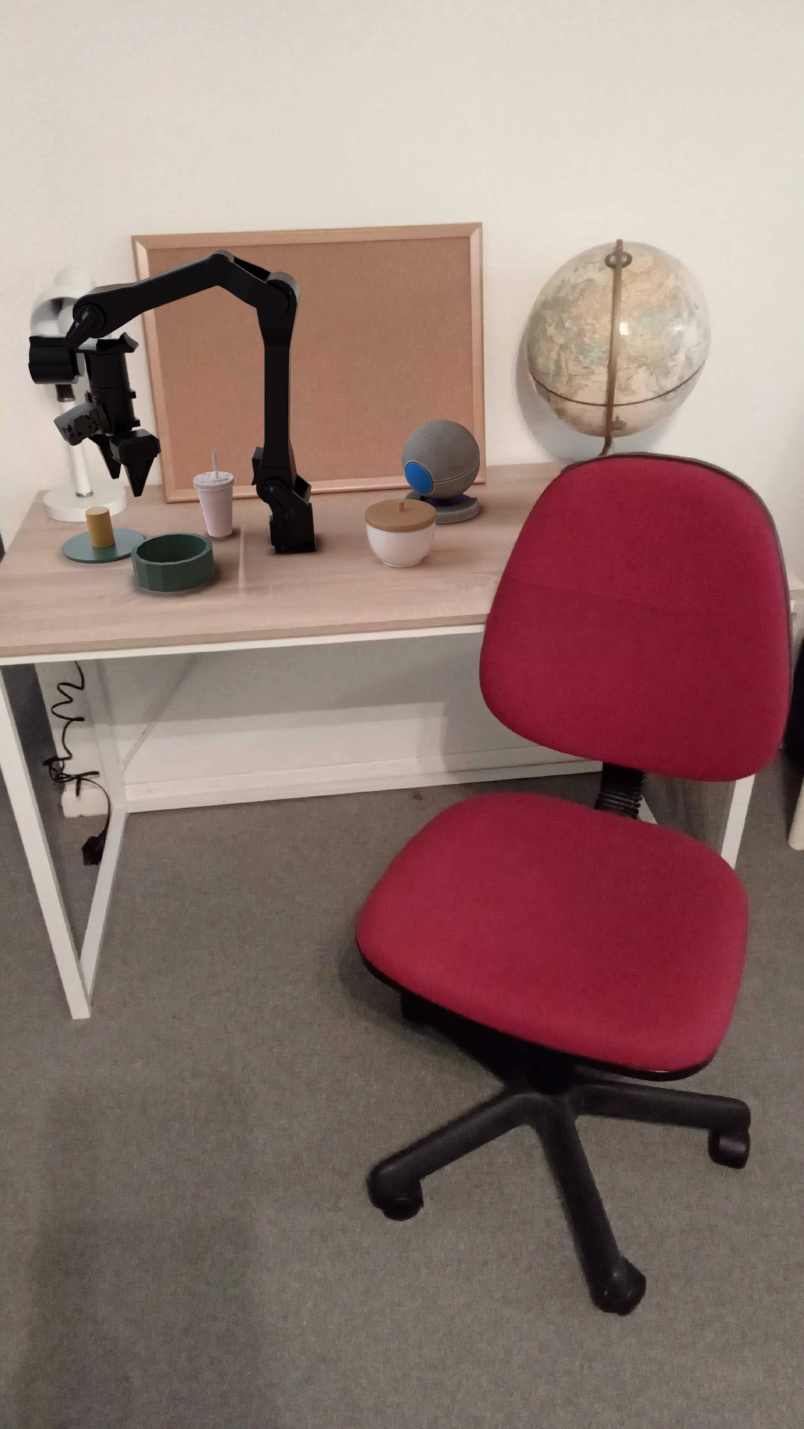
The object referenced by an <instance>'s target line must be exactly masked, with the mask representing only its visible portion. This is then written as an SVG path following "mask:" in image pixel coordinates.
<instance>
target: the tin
mask: <svg viewBox="0 0 804 1429" xmlns="http://www.w3.org/2000/svg"><path fill="white" fill-rule="evenodd" d="M130 558H131V563H132V569H133V575H134V578H135V579H134V580H135V582H136V583H137V585H138V586H139V587H140V588H143V589H146V590H148V591H151V592H159V593H173V592H175V593H176V592H183V591H188V590H192V589H196V588H198V587H200V586H203V585H205V584H207V583H209V582H210V580H212V579H213V577H214V576H216V563H215V556H214V547H213V542H212V541H211V540H210V539H209V537H207V536H204V535H201V534H198V533H194V532H185V531H180V532H179V531H178V532H165V533H161V534H156V535H152V536H149V537H147V538H144V540H142V541H140V542H138V543H137V544H136V545H135V546H134V547H132V551H131V556H130Z"/></svg>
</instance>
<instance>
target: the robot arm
mask: <svg viewBox="0 0 804 1429" xmlns="http://www.w3.org/2000/svg"><path fill="white" fill-rule="evenodd" d="M215 287H220V288H222V289H224V290H226V291H227V292H229V293H230V294H232V296H234V297H236V298H237V299H239V300H240V301H241V302H243V303H244V304H247V305H249V306H251V307H252V308H254V309H255V310H256V311H255V312H256V317H257V323H258V327H259V332H260V335H261V340H262V344H263V354H264V355H263V357H264V358H263V384H264V385H263V394H264V395H263V401H264V402H263V447H262V446H258V445H256V446H255V448H254V450H253V454H252V457H251V466H252V471H253V477H252V480H251V484H250V485H251V486H255V493H256V495H257V497H258V499H260V500H261V501H262V502H263V503H265V504H267V505H268V507H269V509H270V511H271V514H269V516H268V527H269V536H270V545H271V546H272V547H274V548H273V549H274V553H275V554H290V553H307V552H316V551H317V541H316V533H315V524H314V510H313V503H312V502H310V497H311V495H312V494H311V492H312V484H310V482H308V481H307V480H306V479H305V478H304V477H303V476H301V475H300V474H299V473H298V471H297V464H296V458H295V453H294V449H293V445H292V441H291V384H292V343H293V338H294V333H295V327H296V324H297V317H298V312H299V308H300V301H301V296H302V295H301V294H302V293H301V287H300V285H299V283H298V281H297V280H296V279H295V278H294V277H293V276H292V275H290V273H288V272H285V271H273V272H272V271H270V270H268V269H267V268H264V267H262V266H261V265H258V264H255V263H253V262H250V261H248V260H245V259H243V258H240V257H238V256H237V255H234V254H232V253H231V252H230V251H228V250H227V249H226V250H225V249H215V250H214V251H212V252H211V253H210V254H208V255H205V256H203V257H200V258H197V259H194V260H192V261H189V262H186V263H184V264H181V265H179V266H176V267H173V268H170V269H168V270H165V271H162V272H160V273H156V274H154V275H152V276H149V277H146V278H143V279H140V280H138V281H134V282H124V283H113V284H105V285H101V286H100V285H99V286H95V287H92V288H91V289H89V290H87V291H86V292H84V294H81V296H79V297H78V298H77V299H76V300H75V301H74V303H73V306H72V309H71V312H72V313H71V314H72V320H73V322H71V325H70V327H69V328H68V330H67V331H66V332H65V334H46V333H40V332H38V333H37V332H35V333H32V334H31V335H30V336H28V340H29V341H28V342H29V349H28V363H27V368H28V372H29V376H30V378H31V380H32V382H33V383H34V384H35V385H77V384H78V383H79V381H80V378H83V377H84V376H85V374H86V376H87V381H88V387H89V389H88V388H87V389H85V392H84V399H85V401H84V402H82V403H81V404H78V405H76V406H73V407H72V408H70V409H68V410H67V411H65V412H63V413H61V414H60V415H58V416H56V417H55V418H54V419H53V423H54V426H56V428H57V430H58V432H59V433H60V435H61V437H62V439H63V440H64V441H65V442H67V443H68V444H69V445H70V446H71V447H75V446H78V445H80V444H82V443H83V441H84V440H86V439H88V440H90V441H91V442H92V443H94V444H95V445H96V447H97V449H98V451H99V453H100V455H101V458H102V460H103V463H104V464H105V466H106V469H107V471H108V473H109V476H110V478H111V479H112V480H117V479H119V478H120V475H121V470H122V466H123V468H124V471H125V475H126V478H127V481H128V485H129V487H130V490H131V493H132V496H133V497H134V498H139V497H142V495H143V492H144V490H145V486H146V483H147V480H148V477H149V474H150V471H151V469H152V466H153V463H154V461H155V458H158V455H160V454H161V453H162V448H161V441H160V439H159V438H158V437H156V436H155V435H154V434H152V432H150V431H148V430H147V429H145V428H140V429H135V428H139V427H142V425H141V419H140V418H138V417H137V416H136V414H135V408H134V401H133V400H135V399H137V392H136V390H135V389H132V388H131V383H130V376H129V368H128V363H127V355H126V354H133V353H135V351H136V350H137V349H138V348H139V346H140V343H139V342H138V341H136V340H135V339H134V338H132V337H131V336H129V334H128V333H127V332H126V331H123V332H122V333H121V334H120V335H119V337H108V336H109V335H110V334H112V333H114V332H115V331H117V330H118V329H120V328H122V327H123V326H125V325H127V324H128V323H129V322H131V321H132V320H134V319H135V318H137V317H139V316H140V315H142V314H144V313H146V312H149V311H151V310H154V309H156V308H160V307H162V306H165V305H167V304H171V303H173V302H177V301H179V300H181V299H184V298H187V297H190V296H192V295H195V294H198V293H201V292H203V291H206V290H209V289H211V288H215ZM90 339H93V340H96V343H91V344H88V343H86V344H85V342H87V341H88V340H90Z"/></svg>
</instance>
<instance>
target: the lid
mask: <svg viewBox="0 0 804 1429" xmlns="http://www.w3.org/2000/svg"><path fill="white" fill-rule="evenodd" d="M84 515H85V519H86V523H87V529H88V531H84V532H82V533H79V534H75V535H74V536H72V537H70V538H69V539H67V540H66V541H65V542H64V543H63V544H62V547H61V551H62V554H63V556H64V557H65V558H67V559H69V560H71V561H73V562H77V563H84V564H102V563H110V562H114V561H115V562H116V561H119V560H122V559H125V558H128V557H131V551H132V547H134V546H135V545H136V544H137V543H138V542H140V541H142V540H144V539H145V537H144V536H143V534H142V533H140V532H139V531H137V530H134V529H131V528H125V527H124V528H123V527H113V524H112V519H111V513H110V507H107V506H103V505H98V506H97V505H95V506H91V507H89V508H87V509H85V511H84Z"/></svg>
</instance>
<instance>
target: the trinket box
mask: <svg viewBox="0 0 804 1429" xmlns="http://www.w3.org/2000/svg"><path fill="white" fill-rule="evenodd" d="M364 521H365V529H366V537H367V541H368V545H369V546H370V549H371V550H372V552H373V553H374V555H375V556H376V557H377V558H378V559H379V560H381V562H382V563H383V565H385V566H388V567H392V568H397V569H398V568H399V569H401V568H402V569H404V568H405V569H406V568H411V567H414V566H417V565H418V564H420V563H421V561H422V559H424V557H425V556H426V555H428V553H429V552H430V550H431V548H432V546H433V544H434V541H435V537H436V525H437V523H436V509H435V508H434V507H433V506H432V505H430V504H428V503H426V502H423V501H419V500H413V499H404V498H393V499H385V500H381V501H378V502H375V503H373V504H371V505H369V506H368V507H367V508H366V509H365V511H364Z"/></svg>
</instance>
